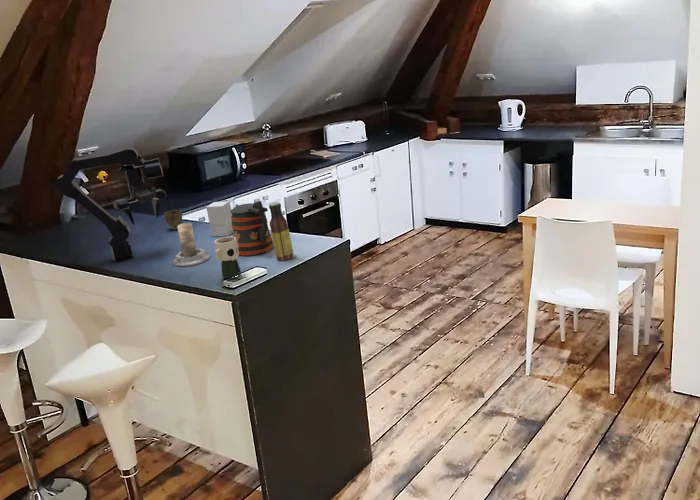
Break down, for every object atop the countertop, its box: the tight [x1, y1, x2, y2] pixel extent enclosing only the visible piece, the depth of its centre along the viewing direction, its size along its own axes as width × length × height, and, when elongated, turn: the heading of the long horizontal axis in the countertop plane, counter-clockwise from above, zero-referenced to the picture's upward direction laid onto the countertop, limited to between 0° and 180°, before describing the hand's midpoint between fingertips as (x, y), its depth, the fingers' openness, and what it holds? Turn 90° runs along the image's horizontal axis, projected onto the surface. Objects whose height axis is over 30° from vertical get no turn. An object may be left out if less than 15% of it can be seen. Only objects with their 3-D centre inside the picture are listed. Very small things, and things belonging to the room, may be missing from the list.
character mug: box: [214, 236, 242, 279], centre depth 226 cm, size 11×7×13 cm, turn 150°
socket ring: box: [172, 247, 211, 268], centre depth 250 cm, size 13×13×3 cm
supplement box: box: [206, 200, 233, 237], centre depth 277 cm, size 7×7×13 cm
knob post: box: [177, 222, 198, 257], centre depth 248 cm, size 5×5×12 cm
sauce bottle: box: [268, 201, 295, 261], centre depth 237 cm, size 7×6×20 cm
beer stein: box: [230, 200, 274, 257], centre depth 248 cm, size 19×15×20 cm
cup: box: [163, 208, 183, 231], centre depth 293 cm, size 8×7×8 cm
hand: (145, 220), depth 260 cm, fingers open, 9 cm apart
